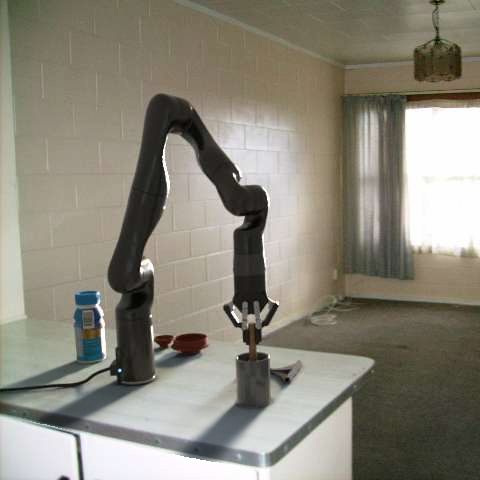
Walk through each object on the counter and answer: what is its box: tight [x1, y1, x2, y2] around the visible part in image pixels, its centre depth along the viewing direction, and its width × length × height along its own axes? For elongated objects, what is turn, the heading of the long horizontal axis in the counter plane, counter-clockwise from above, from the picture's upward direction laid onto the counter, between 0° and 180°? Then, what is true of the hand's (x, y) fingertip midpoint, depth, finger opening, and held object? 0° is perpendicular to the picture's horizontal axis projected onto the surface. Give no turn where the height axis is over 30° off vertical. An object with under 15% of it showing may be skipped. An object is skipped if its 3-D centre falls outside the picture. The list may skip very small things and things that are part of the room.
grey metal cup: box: [234, 351, 272, 409], centre depth 150 cm, size 8×8×11 cm
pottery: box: [153, 332, 211, 356], centre depth 194 cm, size 12×20×4 cm, turn 60°
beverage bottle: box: [73, 290, 107, 364], centre depth 185 cm, size 8×8×20 cm
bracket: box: [270, 360, 303, 384], centre depth 171 cm, size 14×15×3 cm
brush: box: [247, 321, 258, 362], centre depth 150 cm, size 4×4×16 cm
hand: (252, 343), depth 149 cm, fingers closed on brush, 2 cm apart
